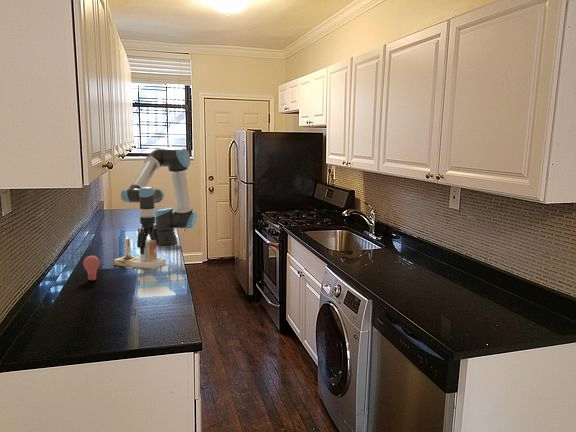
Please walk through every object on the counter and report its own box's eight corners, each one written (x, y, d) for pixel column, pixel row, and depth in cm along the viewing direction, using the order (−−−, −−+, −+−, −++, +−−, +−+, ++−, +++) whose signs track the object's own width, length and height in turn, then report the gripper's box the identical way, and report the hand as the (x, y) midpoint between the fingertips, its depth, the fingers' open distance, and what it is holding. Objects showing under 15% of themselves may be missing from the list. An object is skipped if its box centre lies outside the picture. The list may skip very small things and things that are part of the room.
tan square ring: (126, 260, 245) (126, 255, 245) (141, 262, 242) (141, 257, 242) (114, 264, 236) (114, 259, 236) (129, 266, 233) (129, 261, 232)
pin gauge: (127, 262, 241) (126, 237, 239) (132, 263, 240) (131, 238, 238) (123, 264, 238) (122, 238, 236) (128, 264, 237) (127, 239, 235)
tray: (146, 261, 243) (145, 256, 243) (166, 264, 239) (165, 258, 239) (131, 267, 232) (131, 261, 232) (152, 269, 228) (152, 264, 228)
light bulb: (93, 277, 213) (92, 253, 212) (103, 279, 210) (102, 255, 208) (81, 281, 207) (79, 256, 205) (91, 283, 204) (89, 258, 202)
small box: (149, 262, 231) (149, 243, 229) (140, 261, 232) (139, 242, 230) (157, 258, 239) (156, 239, 237) (147, 258, 240) (147, 239, 238)
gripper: (153, 213, 243) (155, 252, 246) (128, 218, 223) (130, 261, 226) (165, 214, 240) (166, 254, 244) (140, 219, 221) (142, 263, 224)
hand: (148, 257), depth 235 cm, fingers closed on small box, 8 cm apart
